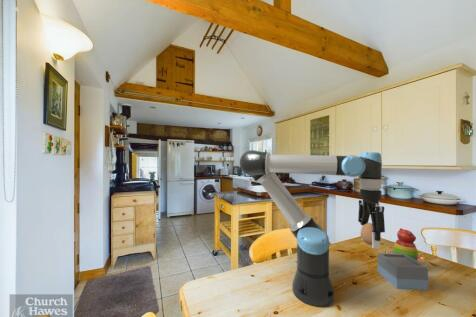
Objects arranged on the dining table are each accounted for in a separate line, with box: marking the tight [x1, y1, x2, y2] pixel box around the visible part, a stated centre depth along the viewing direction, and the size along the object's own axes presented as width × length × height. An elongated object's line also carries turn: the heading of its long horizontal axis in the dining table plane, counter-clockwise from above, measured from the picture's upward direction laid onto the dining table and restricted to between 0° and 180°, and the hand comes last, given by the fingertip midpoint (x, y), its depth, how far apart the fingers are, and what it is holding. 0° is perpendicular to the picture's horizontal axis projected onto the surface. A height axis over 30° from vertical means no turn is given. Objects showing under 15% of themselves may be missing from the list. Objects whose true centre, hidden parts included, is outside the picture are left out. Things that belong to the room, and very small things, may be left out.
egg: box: [360, 222, 374, 246], centre depth 83 cm, size 7×7×9 cm
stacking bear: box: [392, 228, 419, 261], centre depth 98 cm, size 11×10×18 cm
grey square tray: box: [377, 252, 429, 291], centre depth 86 cm, size 12×12×9 cm
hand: (370, 244), depth 83 cm, fingers closed on egg, 7 cm apart
